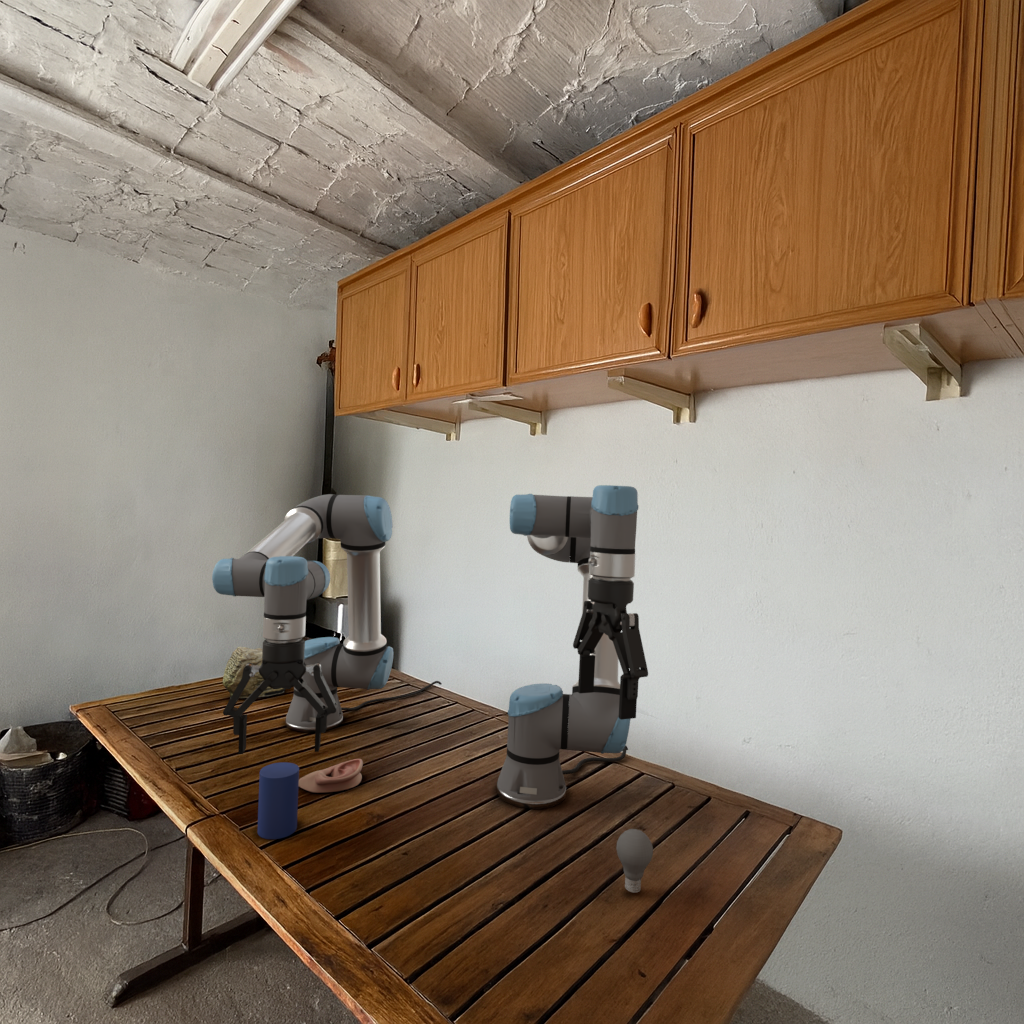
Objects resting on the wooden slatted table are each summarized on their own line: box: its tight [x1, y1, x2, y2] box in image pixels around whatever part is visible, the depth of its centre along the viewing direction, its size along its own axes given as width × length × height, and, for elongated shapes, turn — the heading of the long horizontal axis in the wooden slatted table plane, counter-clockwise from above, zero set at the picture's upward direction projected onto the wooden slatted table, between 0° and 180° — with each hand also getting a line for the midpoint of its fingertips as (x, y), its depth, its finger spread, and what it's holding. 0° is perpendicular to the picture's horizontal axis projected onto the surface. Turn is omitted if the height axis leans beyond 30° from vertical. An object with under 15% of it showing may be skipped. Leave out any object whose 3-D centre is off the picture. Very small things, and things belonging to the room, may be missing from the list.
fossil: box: [222, 646, 287, 699], centre depth 198 cm, size 9×18×15 cm, turn 132°
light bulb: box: [615, 828, 654, 894], centre depth 106 cm, size 6×6×10 cm
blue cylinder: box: [257, 761, 300, 840], centre depth 120 cm, size 7×7×11 cm
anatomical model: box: [298, 758, 364, 794], centre depth 140 cm, size 13×4×12 cm
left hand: (280, 750), depth 120 cm, fingers open, 13 cm apart
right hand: (605, 704), depth 106 cm, fingers open, 13 cm apart
